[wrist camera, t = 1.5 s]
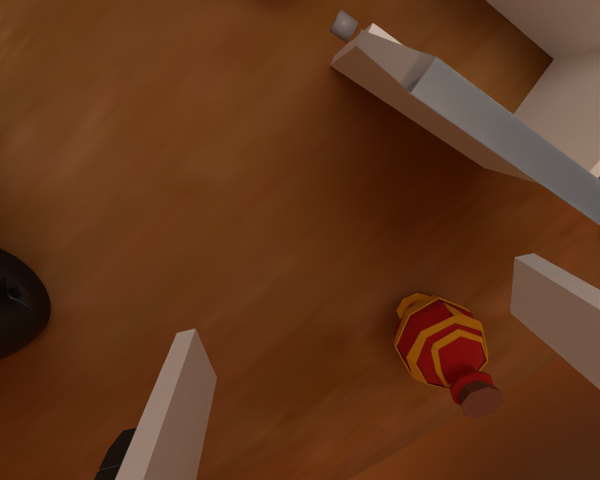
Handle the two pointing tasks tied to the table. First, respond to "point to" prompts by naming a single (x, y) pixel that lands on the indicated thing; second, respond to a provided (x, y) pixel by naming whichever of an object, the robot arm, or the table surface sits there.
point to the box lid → (485, 121)
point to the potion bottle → (446, 351)
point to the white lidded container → (541, 99)
